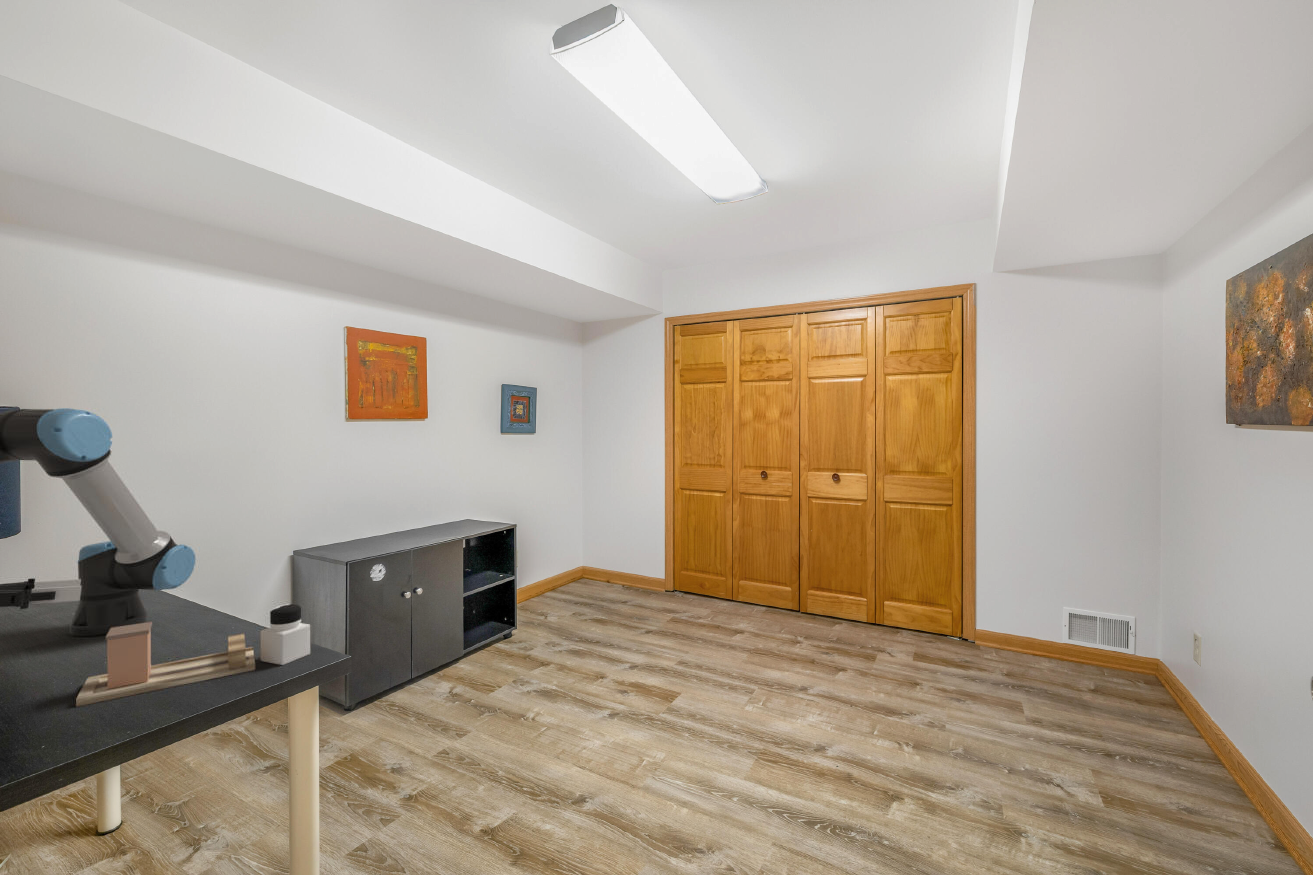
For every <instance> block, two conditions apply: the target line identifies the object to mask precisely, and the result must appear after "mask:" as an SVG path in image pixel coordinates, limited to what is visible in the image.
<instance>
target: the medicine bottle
mask: <svg viewBox="0 0 1313 875" xmlns="http://www.w3.org/2000/svg"><path fill="white" fill-rule="evenodd" d="M269 622H270V624H269V626H270V627H269V628H265V629H261V631H260V661H261V662H264V663H270V664H275V665H280V666H284V665H287V664H290V663H291V662H294V661H296V660H298V659H301V658H303V657H306V656H309V655H310V654H311V624H309V623H308V624H307V623H302V607H301V605H298V604H295V603H290V604H289V603H287V604H283V605H278V606H276V607H274V608H272V609H271V610H270V612H269Z"/></svg>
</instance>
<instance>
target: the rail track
mask: <svg viewBox="0 0 1313 875" xmlns="http://www.w3.org/2000/svg"><path fill="white" fill-rule="evenodd" d="M245 638H246V637H245V633H241V634H233V635H228V638H227V641H228V642H227V643H228V645H227V646H228V648H227V649H228V650H227V651H222V652H217V653H212V654H206V655H200V656H195V657H190V658H183V659H180V660H174V661H168V662H163V663H157V664H151V672H150V676H149V679H148V681H146V682H141V683H136V684H131V685H126V686H120V687H115V688H110V689H108V673H104V674H103V673H102V674H98V675H93V676H88V677H87V679H86V680H85V683H84V684H83V686H82V687H81V689H80V691H79V693H78V695H77V697H76V698H75V700H76V701H75V703H76V704H75V707H81V706H86V705H91V704H96V703H100V702H106V701H110V700H115V699H120V698H126V697H129V696H135V695H139V694H144V693H149V692H154V691H159V690H165V689H168V688H173V687H174V688H175V687H178V686H184V685H188V684H192V683H193V684H194V683H198V682H203V681H207V680H211V679H217V678H222V677H226V676H231V675H236V674H241V673H246V672H247V673H248V672H251V671H255V670H256V662H255V654H254V646H249V647H246V639H245Z"/></svg>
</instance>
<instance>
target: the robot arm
mask: <svg viewBox="0 0 1313 875" xmlns="http://www.w3.org/2000/svg"><path fill="white" fill-rule="evenodd" d="M112 438H113V433H112V430H111V427H110V426H109V424H108V423H107V422H106V421H105V419H104V418H102V417H100V416H99V415H97V414H96V413H94V412H91V411H87V410H84V409H75V408H70V407H69V408H60V407H59V408H55V409H53V408H52V409H50V408H49V409H47V408H46V409H45V408H41V409H38V408H36V409H35V408H34V409H33V408H32V409H31V408H19V409H18V408H17V409H10V410H6V411H5V410H4V411H2V412H0V464H3V463H9V462H10V463H11V462H17V461H35V462H37V463H38V465H40V467H41V468H42V470H43V471H44V472H45V473H46V475H48V476H49V477H51V478H57V479H62V481H63V482H64V483H65V484H66V485H67V487H68V488H69V489H70V491H72V493H73V495H74V496H75V497H76V498H77V499H78V501H79V502H80V503H81V505H82V506H83V507H84V508H85V510H86V511H87V513H88V514H89V515H90V516H91V517H92V519H93V520H94V521H95V523H96V524H97V525H98V527H99V528H100V529H101V530H102V532H103V533H104V534H105V536H106V537H107V538H108V539H109V540H108V541H104V542H103V541H102V542H98V543H92V544H87V545H85V546H83V547H81V548H80V550H79V552H78V553H79V554H78V560H77V576H78V579H66V580H65V579H62V580H61V579H60V580H43V581H36V578H32V577H31V578H27V580H25V581H21V582H20V581H19V582H11V583H10V582H9V583H0V608H5V607H8V608H9V607H12V608H13V607H15V608H19V610H27V609H29V607H30V606H29V605H39V604H50V603H51V604H53V603H64V602H65V603H66V602H77V601H78V604H77V607H76V609H75V611H74V614H73V616H72V618H71V621H70V623H69V635H71V636H73V637H90V636H91V637H94V636H99V635H102V636H103V635H107V634H108V632H109V630H110V629H111V628H113V627H120V626H127V625H133V624H140V623H146V622H148V621H149V620H148V619H149V618H148V617H149V616H148V611H147V608H146V606H145V604H144V602H143V600H142V597H141V595H140V590H147V591H148V590H149V591H150V590H152V591H164V590H174V589H177V588H179V587H181V586H182V585H183V584H185V583H186V581H188V579H189V578H190V577H191V575H192V574H193V572H194V570H195V566H196V553H195V551H194V549H193V548H191V547H190V546H188V545H185V544H177V543H176V542H175V540H174V539H173V538H172V536H171V535H170V534H169V532H167V531H163V530H158V529H157V527H155V525H154V524H153V522H152V521H151V519H150V518H149V516H148V515H147V514H146V513H145V511H144V510H143V508H142V506H140V503H139V502H138V501H137V500H136V498H135V497H134V495H133V494H132V493H131V491H130V490H129V488H128V487H127V486H126V484H125V482H124V481H123V480H122V478H121V477H120V475H119V474H118V473H117V471H116V470H115V469H114V467H113V466H112V464H111V463H110V461H109V459H110V457H111V456H112V450H111V447H112V444H113V441H112V440H111V439H112Z"/></svg>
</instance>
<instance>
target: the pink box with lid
mask: <svg viewBox="0 0 1313 875" xmlns="http://www.w3.org/2000/svg"><path fill="white" fill-rule="evenodd" d="M152 627H153V622H152V621H147V622H146V623H140V624H133V625H127V626H120V627H113V628H111V629H110V630H109V632H108V634H105V641H107V643H106V645H107V646H106V648H107V650H106V651H107V653H106V655H107V658H106V659H107V674H108V689H110V688H115V687H120V686H126V685H131V684H136V683H141V682H146V681H148V679H149V676H150V672H151V665H152V662H151V661H152V659H151V658H152V655H151V654H152V650H151V649H152V647H151V646H152V640H151V639H152V638H151V637H152V635H151V634H152V633H151V632H152Z"/></svg>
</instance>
